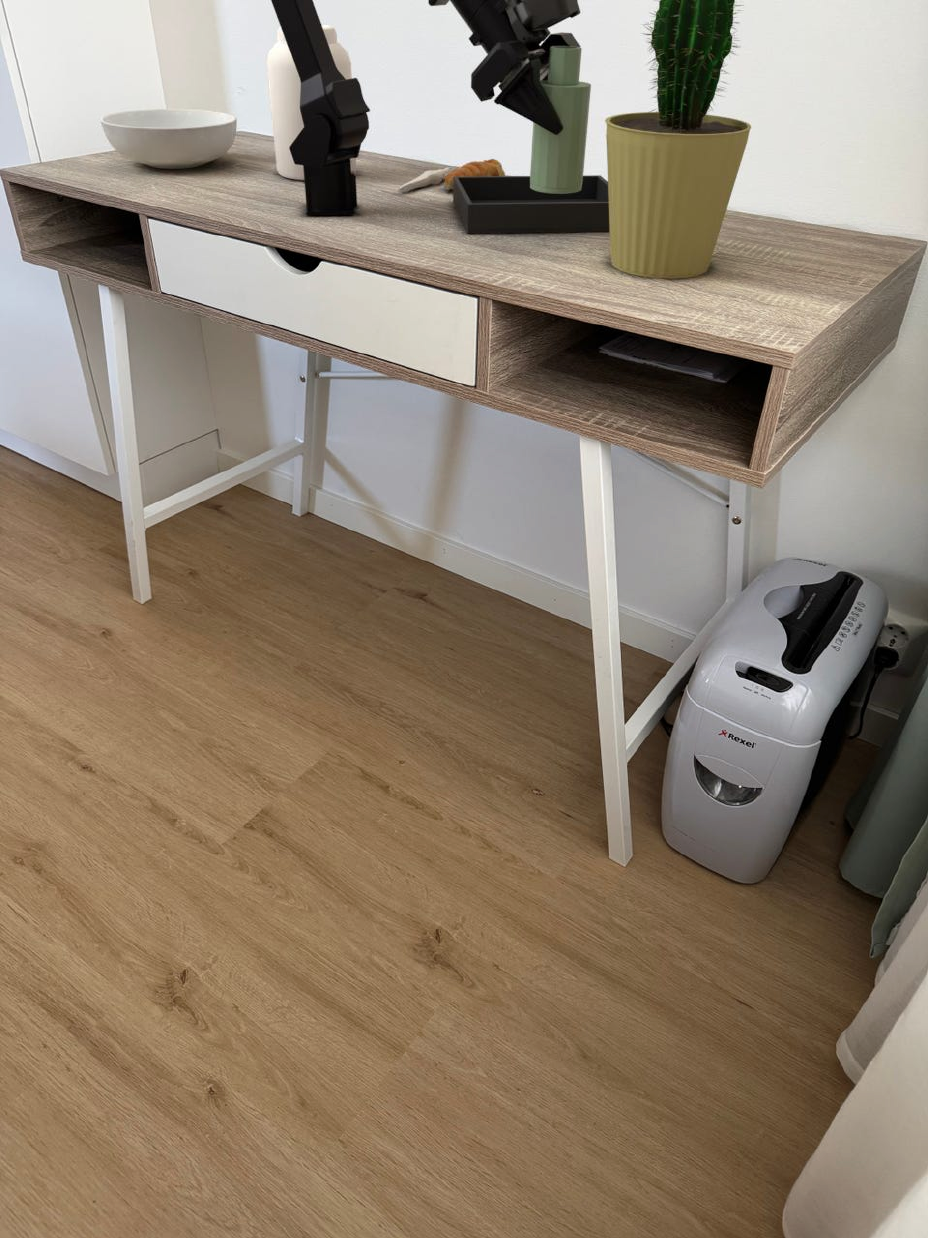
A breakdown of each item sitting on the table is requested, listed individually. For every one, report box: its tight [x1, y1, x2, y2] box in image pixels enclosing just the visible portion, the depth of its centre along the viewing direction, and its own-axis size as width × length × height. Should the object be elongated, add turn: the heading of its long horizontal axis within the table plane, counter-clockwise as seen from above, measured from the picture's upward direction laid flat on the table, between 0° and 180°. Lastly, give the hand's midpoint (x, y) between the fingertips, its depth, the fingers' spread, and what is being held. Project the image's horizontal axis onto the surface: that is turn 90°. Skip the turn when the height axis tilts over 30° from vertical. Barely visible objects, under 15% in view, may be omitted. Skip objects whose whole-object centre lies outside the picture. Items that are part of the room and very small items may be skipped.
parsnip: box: [398, 167, 451, 192], centre depth 141 cm, size 15×3×2 cm, turn 152°
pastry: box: [443, 158, 506, 190], centre depth 138 cm, size 9×7×4 cm
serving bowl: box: [100, 108, 238, 170], centre depth 150 cm, size 21×21×7 cm
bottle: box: [529, 46, 592, 194], centre depth 107 cm, size 6×6×14 cm
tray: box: [452, 174, 610, 235], centre depth 125 cm, size 21×17×4 cm
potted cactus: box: [604, 0, 752, 279], centre depth 99 cm, size 15×15×30 cm
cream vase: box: [266, 24, 357, 182], centre depth 141 cm, size 12×12×20 cm
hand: (571, 127), depth 107 cm, fingers closed on bottle, 6 cm apart
